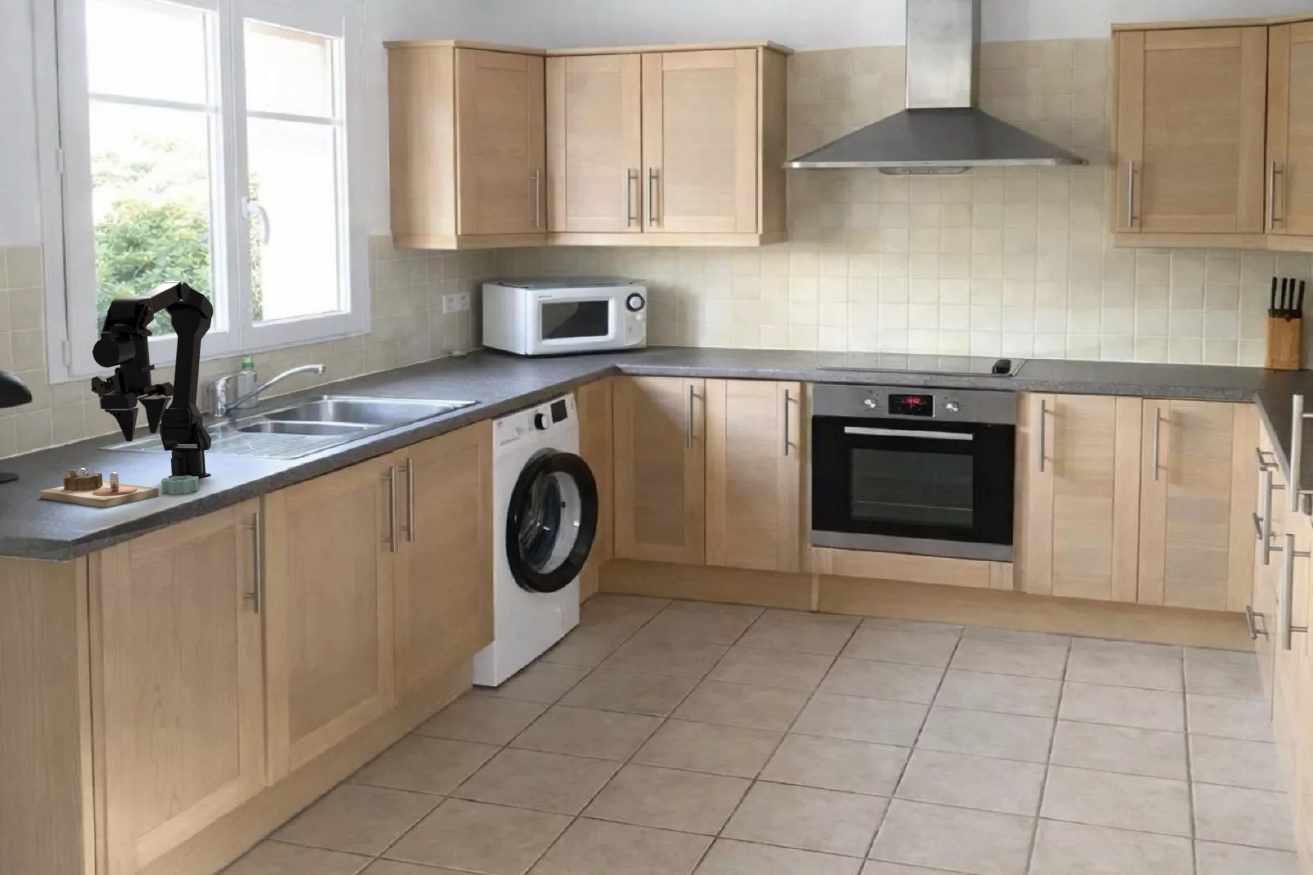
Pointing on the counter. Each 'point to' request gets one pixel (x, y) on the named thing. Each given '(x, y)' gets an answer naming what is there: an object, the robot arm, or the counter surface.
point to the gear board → (101, 494)
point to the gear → (82, 481)
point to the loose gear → (180, 484)
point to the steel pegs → (113, 478)
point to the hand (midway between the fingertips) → (141, 437)
